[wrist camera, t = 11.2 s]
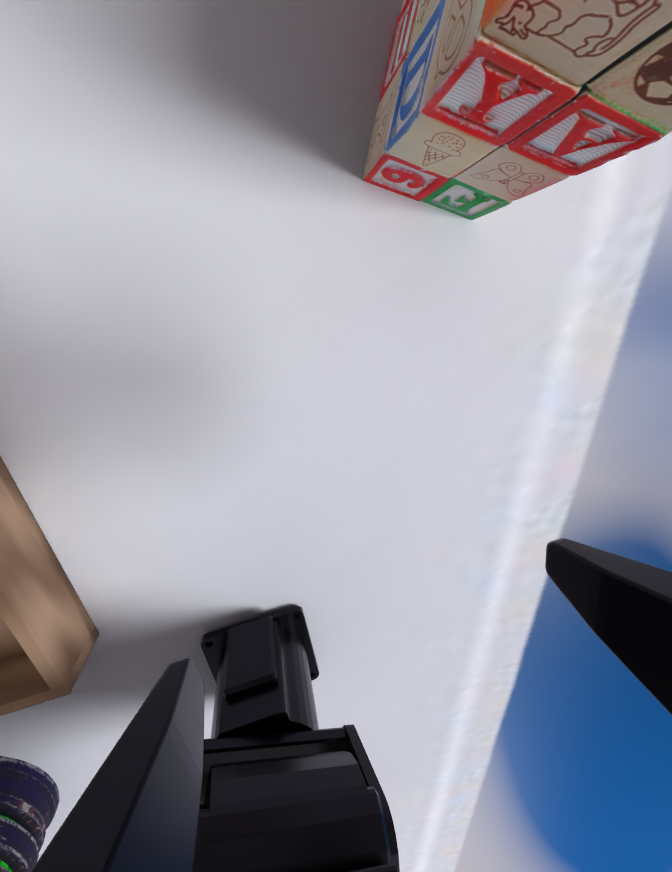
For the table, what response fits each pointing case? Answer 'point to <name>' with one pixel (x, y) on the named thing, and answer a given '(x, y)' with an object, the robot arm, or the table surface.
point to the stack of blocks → (517, 96)
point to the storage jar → (24, 813)
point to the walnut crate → (35, 611)
